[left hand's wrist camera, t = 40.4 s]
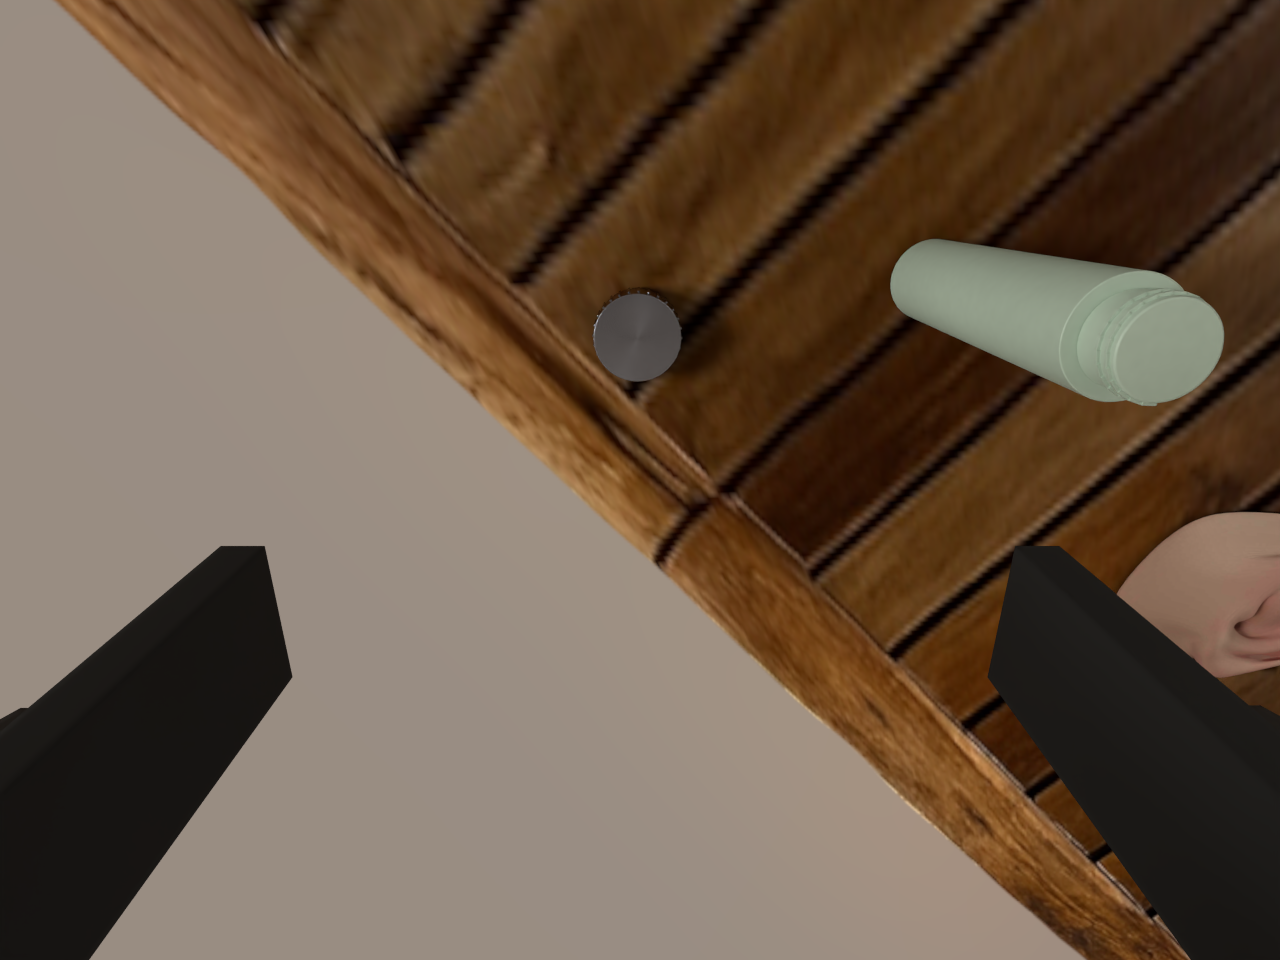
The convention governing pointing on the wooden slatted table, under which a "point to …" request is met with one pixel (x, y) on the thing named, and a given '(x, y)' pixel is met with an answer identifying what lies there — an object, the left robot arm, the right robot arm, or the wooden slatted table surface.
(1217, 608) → the anatomical model
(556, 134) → the wooden slatted table surface
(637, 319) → the lid
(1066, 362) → the pale green tube
